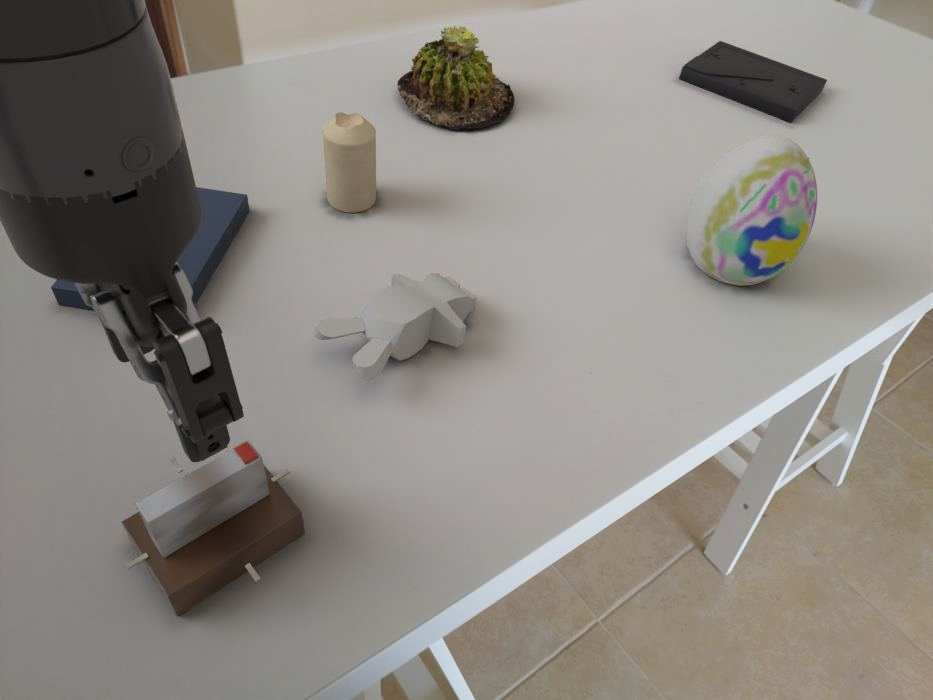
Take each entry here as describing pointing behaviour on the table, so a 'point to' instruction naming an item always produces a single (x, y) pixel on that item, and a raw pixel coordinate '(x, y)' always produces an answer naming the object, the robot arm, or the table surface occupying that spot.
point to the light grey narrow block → (204, 498)
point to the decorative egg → (752, 211)
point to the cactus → (455, 84)
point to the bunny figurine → (404, 321)
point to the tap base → (219, 547)
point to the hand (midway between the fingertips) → (171, 399)
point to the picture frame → (753, 80)
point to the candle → (350, 162)
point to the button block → (192, 244)
